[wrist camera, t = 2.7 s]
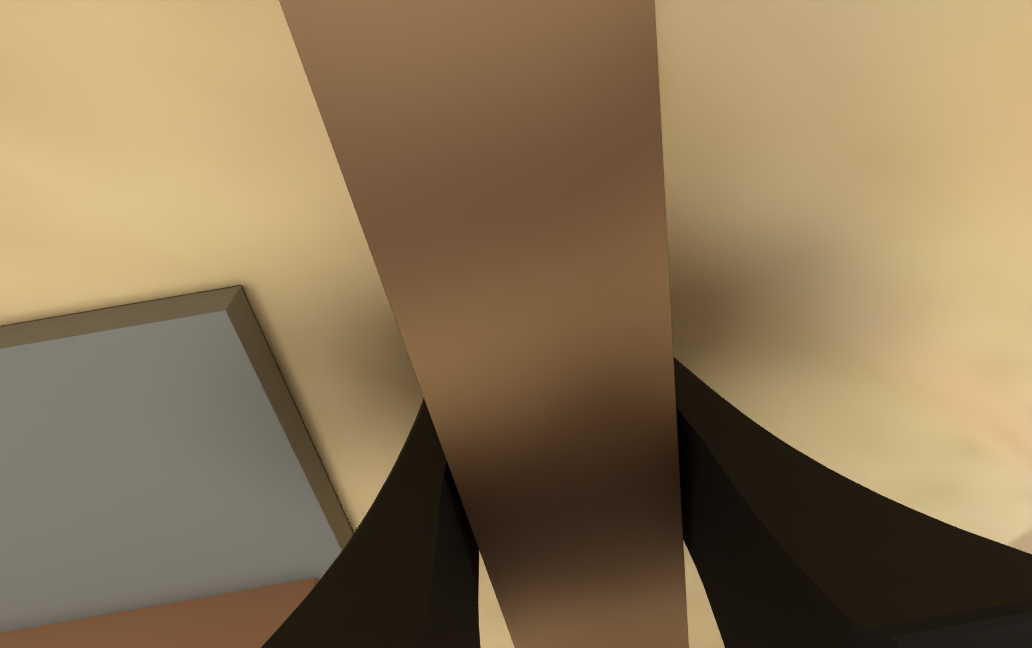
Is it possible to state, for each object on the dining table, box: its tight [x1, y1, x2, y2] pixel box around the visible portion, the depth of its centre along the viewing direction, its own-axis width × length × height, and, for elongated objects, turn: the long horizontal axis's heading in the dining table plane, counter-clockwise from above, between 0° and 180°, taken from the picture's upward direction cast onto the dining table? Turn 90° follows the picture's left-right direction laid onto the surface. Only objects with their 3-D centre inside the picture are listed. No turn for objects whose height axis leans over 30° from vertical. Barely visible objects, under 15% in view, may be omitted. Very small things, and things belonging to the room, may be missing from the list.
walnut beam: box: [279, 0, 689, 648], centre depth 12 cm, size 18×4×5 cm, turn 11°
